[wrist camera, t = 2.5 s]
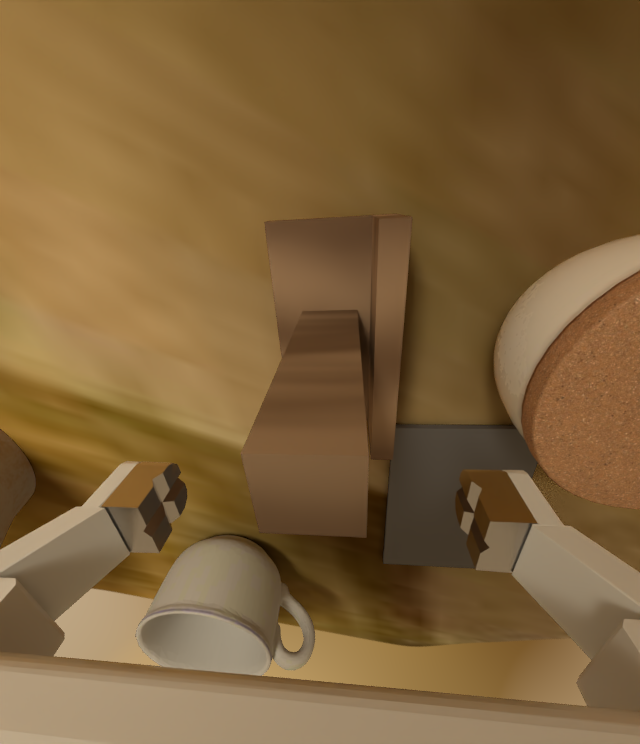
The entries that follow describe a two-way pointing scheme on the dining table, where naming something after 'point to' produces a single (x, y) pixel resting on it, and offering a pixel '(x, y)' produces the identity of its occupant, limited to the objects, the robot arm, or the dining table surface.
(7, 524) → the vase
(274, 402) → the scraper
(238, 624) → the teacup
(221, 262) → the dining table surface
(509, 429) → the mat
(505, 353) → the lidded jar
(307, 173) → the dining table surface
